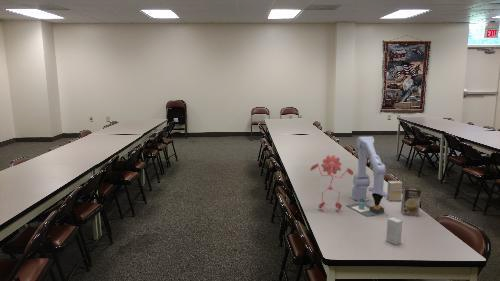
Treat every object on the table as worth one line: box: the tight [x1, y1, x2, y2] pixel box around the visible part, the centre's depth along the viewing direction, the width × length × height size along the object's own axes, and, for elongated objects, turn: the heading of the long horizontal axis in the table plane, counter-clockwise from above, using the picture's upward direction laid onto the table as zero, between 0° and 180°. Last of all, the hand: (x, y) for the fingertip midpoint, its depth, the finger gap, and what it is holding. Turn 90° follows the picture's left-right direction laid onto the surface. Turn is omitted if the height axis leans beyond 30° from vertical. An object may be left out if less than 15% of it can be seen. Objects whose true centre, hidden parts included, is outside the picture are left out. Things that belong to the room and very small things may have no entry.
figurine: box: [309, 154, 354, 214], centre depth 231 cm, size 15×26×35 cm, turn 84°
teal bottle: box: [358, 199, 366, 209], centre depth 232 cm, size 3×3×6 cm
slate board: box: [345, 202, 386, 218], centre depth 232 cm, size 20×14×3 cm
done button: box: [373, 204, 382, 210], centre depth 227 cm, size 4×4×2 cm
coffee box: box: [400, 186, 422, 217], centre depth 225 cm, size 9×6×16 cm
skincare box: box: [385, 216, 403, 245], centre depth 188 cm, size 6×4×12 cm
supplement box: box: [386, 180, 403, 202], centre depth 248 cm, size 8×5×13 cm, turn 92°
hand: (377, 205), depth 227 cm, fingers closed
